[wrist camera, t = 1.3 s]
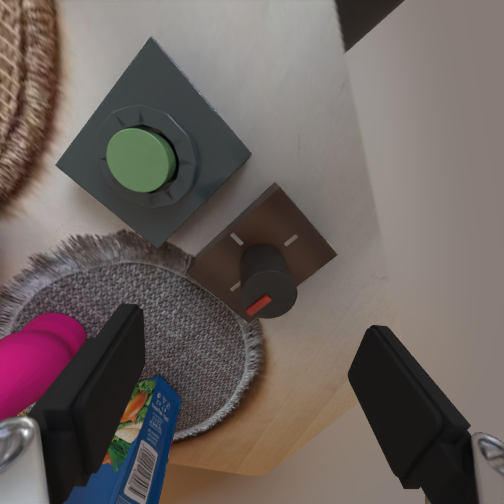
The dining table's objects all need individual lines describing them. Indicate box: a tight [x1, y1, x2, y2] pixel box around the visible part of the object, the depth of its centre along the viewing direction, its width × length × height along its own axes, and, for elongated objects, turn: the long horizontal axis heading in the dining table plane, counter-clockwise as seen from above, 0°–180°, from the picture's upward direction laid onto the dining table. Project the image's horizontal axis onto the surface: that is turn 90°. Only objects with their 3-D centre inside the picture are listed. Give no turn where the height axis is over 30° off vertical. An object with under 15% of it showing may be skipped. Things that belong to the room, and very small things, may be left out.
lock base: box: [187, 183, 337, 323], centre depth 25 cm, size 12×9×3 cm
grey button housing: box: [56, 36, 252, 249], centre depth 19 cm, size 12×10×5 cm
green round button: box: [106, 128, 176, 193], centre depth 17 cm, size 4×4×2 cm
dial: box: [240, 243, 297, 319], centre depth 21 cm, size 4×4×6 cm
